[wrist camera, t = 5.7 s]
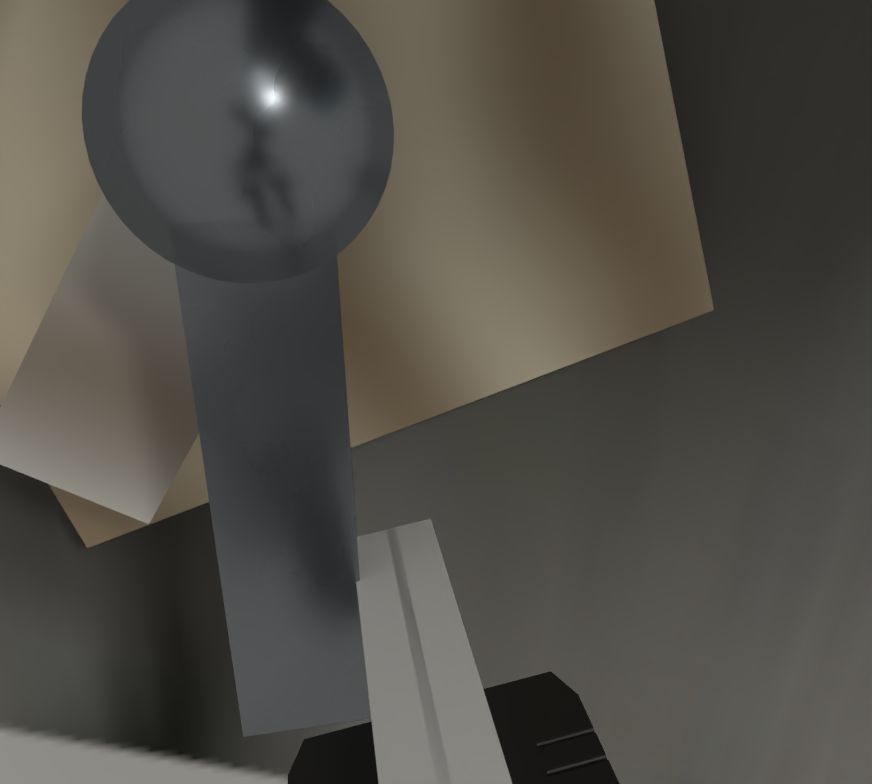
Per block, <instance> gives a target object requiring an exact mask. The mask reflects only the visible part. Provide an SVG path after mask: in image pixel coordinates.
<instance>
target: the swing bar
mask: <svg viewBox="0 0 872 784" xmlns="http://www.w3.org/2000/svg"><path fill="white" fill-rule="evenodd" d="M82 125H83V134H84V142H85V146H86V150H87V154H88V158H89V162H90V164H91V167H92V170H93V172H94V175H95V178H96V180H97V182H98V184H99V186H100V188H101V190H102V192H103V194H104V196H105V198H106V199H107V201H108V203H109V204H110V205H111V207H112V208H113V210H114V211H115V213H116V214H117V216H118V217H119V218H120V219H121V221H122V222H123V223H124V224H125V225H126V226H127V227H128V228H129V230H130V231H131V232H132V233H133V234H134V235H135V236H136V237H137V238H138V239H140V240H141V241H142V242H143V243H144V244H145V245H146V246H147V247H149V248H150V249H151V250H153V251H154V252H156V253H157V254H159V255H160V256H161V257H163V258H164V259H166V260H168V261H169V262H171V263H173V264H175V271H176V277H177V284H178V291H179V298H180V305H181V312H182V319H183V326H184V333H185V339H186V346H187V353H188V360H189V367H190V374H191V381H192V388H193V394H194V401H195V408H196V415H197V422H198V429H199V436H200V443H201V450H202V456H203V463H204V470H205V477H206V484H207V491H208V498H209V505H210V511H211V518H212V525H213V532H214V539H215V546H216V553H217V560H218V567H219V573H220V580H221V587H222V594H223V601H224V608H225V615H226V622H227V628H228V635H229V642H230V649H231V656H232V663H233V670H234V677H235V683H236V690H237V697H238V704H239V711H240V718H241V725H242V732H243V737H248V736H255V735H261V734H268V733H275V732H282V731H288V730H295V729H302V728H309V727H315V726H322V725H329V724H336V723H342V722H349V721H356V720H363V719H369V718H370V713H369V699H368V685H367V676H366V667H365V658H364V649H363V640H362V631H361V622H360V613H359V604H358V595H357V586H356V582H357V581H360V572H359V558H358V544H357V530H356V516H355V502H354V488H353V474H352V459H351V445H350V431H349V417H348V403H347V389H346V375H345V361H344V347H343V333H342V319H341V305H340V291H339V277H338V263H337V254H339V253H340V252H341V251H343V250H344V249H345V248H346V247H347V246H348V245H349V244H350V243H351V242H352V241H353V240H354V239H355V238H356V237H357V236H358V235H359V233H360V232H361V231H362V230H363V228H364V227H365V226H366V224H367V223H368V222H369V220H370V218H371V217H372V215H373V213H374V212H375V210H376V208H377V206H378V205H379V202H380V200H381V197H382V195H383V193H384V190H385V188H386V184H387V181H388V177H389V174H390V170H391V164H392V157H393V150H394V125H393V115H392V108H391V103H390V99H389V95H388V90H387V87H386V84H385V81H384V79H383V76H382V73H381V70H380V68H379V66H378V64H377V62H376V60H375V58H374V56H373V54H372V52H371V50H370V49H369V47H368V46H367V44H366V43H365V41H364V40H363V38H362V37H361V35H360V34H359V32H358V31H357V30H356V29H355V27H354V26H353V25H352V24H351V23H350V22H349V20H348V19H347V18H346V17H345V16H344V15H343V14H342V13H341V12H340V11H339V10H338V9H337V8H335V7H334V6H333V5H332V4H331V3H330V2H329V1H328V0H129V1H128V2H127V3H126V4H125V5H124V6H123V7H122V8H121V9H120V10H119V12H118V13H117V14H116V15H115V16H114V17H113V18H112V20H111V21H110V23H109V24H108V26H107V27H106V29H105V30H104V32H103V33H102V35H101V37H100V39H99V41H98V43H97V45H96V47H95V49H94V51H93V54H92V56H91V59H90V63H89V66H88V69H87V72H86V76H85V82H84V89H83V95H82Z"/></svg>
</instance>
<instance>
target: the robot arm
mask: <svg viewBox="0 0 872 784" xmlns="http://www.w3.org/2000/svg"><path fill="white" fill-rule="evenodd" d="M357 544H358V558H359V572H360V581H357V582H356V586H357V595H358V604H359V613H360V622H361V631H362V640H363V649H364V658H365V667H366V676H367V685H368V694H369V703H370V712H371V721H372V722H368V723H365V724H361V725H357V726H353V727H349V728H346V729H342V730H338V731H334V732H330V733H327V734H323V735H319V736H315V737H312V738H308V739H304V741H303V743H302V745H301V748H300V750H299V752H298V754H297V756H296V759H295V761H294V763H293V765H292V768H291V770H290V772H289V774H288V784H619V782H618V780H617V778H616V775H615V773H614V771H613V769H612V767H611V765H610V763H609V760H607V758H606V755H605V752H604V750H603V747H602V745H601V743H600V741H599V739H598V737H597V734H596V733H595V732H594V730H593V726H592V724H591V722H590V719H589V717H588V715H587V713H586V711H585V709H584V706H583V704H582V702H581V700H580V698H579V696H578V694H577V693H576V692H574V691H573V690H572V689H571V688H570V687H568V686H567V685H566V684H565V683H564V682H563V681H561V680H560V679H559V678H558V677H557V676H556V675H554V674H553V673H552V672H547V673H543V674H539V675H535V676H532V677H528V678H524V679H520V680H517V681H513V682H509V683H505V684H501V685H498V686H494V687H490V688H486V689H483V687H482V683H481V680H480V677H479V674H478V670H477V667H476V664H475V661H474V657H473V654H472V651H471V648H470V644H469V641H468V638H467V635H466V631H465V628H464V625H463V622H462V618H461V615H460V612H459V609H458V605H457V602H456V599H455V596H454V593H453V589H452V586H451V583H450V580H449V576H448V573H447V570H446V567H445V563H444V560H443V557H442V554H441V550H440V547H439V544H438V541H437V537H436V534H435V531H434V528H433V524H432V521H431V519H427V520H423V521H418V522H414V523H410V524H406V525H402V526H398V527H394V528H390V529H386V530H382V531H378V532H374V533H370V534H366V535H362V536H358V537H357Z"/></svg>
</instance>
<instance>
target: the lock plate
mask: <svg viewBox="0 0 872 784" xmlns="http://www.w3.org/2000/svg"><path fill="white" fill-rule="evenodd" d="M128 1H129V0H0V405H1V407H0V465H3V466H5V467H8V468H10V469H13V470H15V471H18V472H20V473H23V474H25V475H28V476H30V477H33V478H35V479H38V480H40V481H43V482H45V483H48V484H49V486H50V487H51V489H52V491H53V492H54V494H55V496H56V497H57V499H58V501H59V502H60V504H61V506H62V507H63V509H64V511H65V512H66V514H67V515H68V517H69V519H70V520H71V522H72V524H73V525H74V527H75V529H76V530H77V532H78V534H79V535H80V537H81V538H82V540H83V542H84V543H85V545H86V547H87V548H89V547H92V546H94V545H97V544H100V543H102V542H105V541H108V540H110V539H113V538H115V537H118V536H121V535H123V534H126V533H129V532H131V531H134V530H137V529H139V528H142V527H144V526H147V525H150V524H152V523H155V522H158V521H160V520H163V519H165V518H168V517H171V516H173V515H176V514H179V513H181V512H184V511H187V510H189V509H192V508H194V507H197V506H200V505H202V504H205V503H208V502H209V498H208V491H207V484H206V477H205V470H204V463H203V456H202V450H201V443H200V436H199V429H198V422H197V415H196V408H195V401H194V394H193V388H192V381H191V374H190V367H189V360H188V353H187V346H186V339H185V333H184V326H183V319H182V312H181V305H180V298H179V291H178V284H177V277H176V271H175V264H173V263H171V262H169V261H168V260H166V259H164V258H163V257H161V256H160V255H159V254H157V253H156V252H154V251H153V250H151V249H150V248H149V247H147V246H146V245H145V244H144V243H143V242H142V241H141V240H140V239H138V238H137V237H136V236H135V235H134V234H133V233H132V232H131V231H130V230H129V228H128V227H127V226H126V225H125V224H124V223H123V222H122V221H121V219H120V218H119V217H118V216H117V214H116V213H115V211H114V210H113V208H112V207H111V205H110V204H109V203H108V201H107V199H106V198H105V196H104V194H103V192H102V190H101V188H100V186H99V184H98V182H97V180H96V178H95V175H94V172H93V170H92V167H91V164H90V162H89V158H88V154H87V150H86V146H85V142H84V134H83V125H82V95H83V89H84V82H85V76H86V72H87V69H88V66H89V63H90V59H91V56H92V54H93V51H94V49H95V47H96V45H97V43H98V41H99V39H100V37H101V35H102V33H103V32H104V30H105V29H106V27H107V26H108V24H109V23H110V21H111V20H112V18H113V17H114V16H115V15H116V14H117V13H118V12H119V10H120V9H121V8H122V7H123V6H124V5H125V4H126V3H127V2H128ZM328 1H329V2H330V3H331V4H332V5H333V6H334V7H335V8H337V9H338V10H339V11H340V12H341V13H342V14H343V15H344V16H345V17H346V18H347V19H348V20H349V22H350V23H351V24H352V25H353V26H354V27H355V29H356V30H357V31H358V32H359V34H360V35H361V37H362V38H363V40H364V41H365V43H366V44H367V46H368V47H369V49H370V50H371V52H372V54H373V56H374V58H375V60H376V62H377V64H378V66H379V68H380V70H381V73H382V76H383V79H384V81H385V84H386V87H387V90H388V95H389V99H390V103H391V108H392V115H393V125H394V150H393V157H392V164H391V170H390V174H389V177H388V181H387V184H386V188H385V190H384V193H383V195H382V197H381V200H380V202H379V205H378V206H377V208H376V210H375V212H374V213H373V215H372V217H371V218H370V220H369V222H368V223H367V224H366V226H365V227H364V228H363V230H362V231H361V232H360V233H359V235H358V236H357V237H356V238H355V239H354V240H353V241H352V242H351V243H350V244H349V245H348V246H347V247H346V248H345V249H344V250H343V251H341V252H340V253H339V254H337V263H338V277H339V291H340V305H341V319H342V333H343V347H344V361H345V375H346V389H347V403H348V417H349V431H350V445H351V448H352V447H355V446H358V445H360V444H363V443H366V442H368V441H371V440H373V439H376V438H379V437H381V436H384V435H387V434H389V433H392V432H395V431H397V430H400V429H402V428H405V427H408V426H410V425H413V424H416V423H418V422H421V421H424V420H426V419H429V418H431V417H434V416H437V415H439V414H442V413H445V412H447V411H450V410H452V409H455V408H458V407H460V406H463V405H466V404H468V403H471V402H474V401H476V400H479V399H481V398H484V397H487V396H489V395H492V394H495V393H497V392H500V391H502V390H505V389H508V388H510V387H513V386H516V385H518V384H521V383H524V382H526V381H529V380H531V379H534V378H537V377H539V376H542V375H545V374H547V373H550V372H553V371H555V370H558V369H560V368H563V367H566V366H568V365H571V364H574V363H576V362H579V361H581V360H584V359H587V358H589V357H592V356H595V355H597V354H600V353H603V352H605V351H608V350H610V349H613V348H616V347H618V346H621V345H624V344H626V343H629V342H632V341H634V340H637V339H639V338H642V337H645V336H647V335H650V334H653V333H655V332H658V331H660V330H663V329H666V328H668V327H671V326H674V325H676V324H679V323H682V322H684V321H687V320H689V319H692V318H695V317H697V316H700V315H703V314H705V313H708V312H711V311H713V310H714V307H713V301H712V296H711V291H710V286H709V281H708V276H707V270H706V265H705V260H704V255H703V250H702V245H701V240H700V234H699V229H698V224H697V219H696V214H695V209H694V203H693V198H692V193H691V188H690V183H689V178H688V172H687V167H686V162H685V157H684V152H683V147H682V141H681V136H680V131H679V126H678V121H677V116H676V110H675V105H674V100H673V95H672V90H671V85H670V79H669V74H668V69H667V64H666V59H665V54H664V48H663V43H662V38H661V33H660V28H659V23H658V17H657V12H656V7H655V2H654V0H328Z"/></svg>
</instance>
